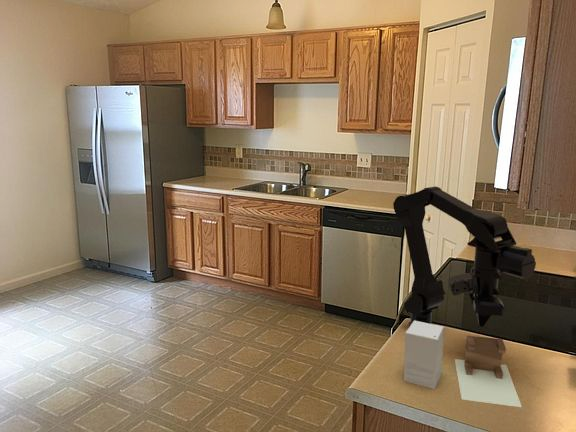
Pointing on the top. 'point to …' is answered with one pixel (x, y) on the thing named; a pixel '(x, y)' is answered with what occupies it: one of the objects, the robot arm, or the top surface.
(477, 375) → the mat
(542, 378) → the top surface
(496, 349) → the footstool
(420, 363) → the supplement box
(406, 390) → the top surface
